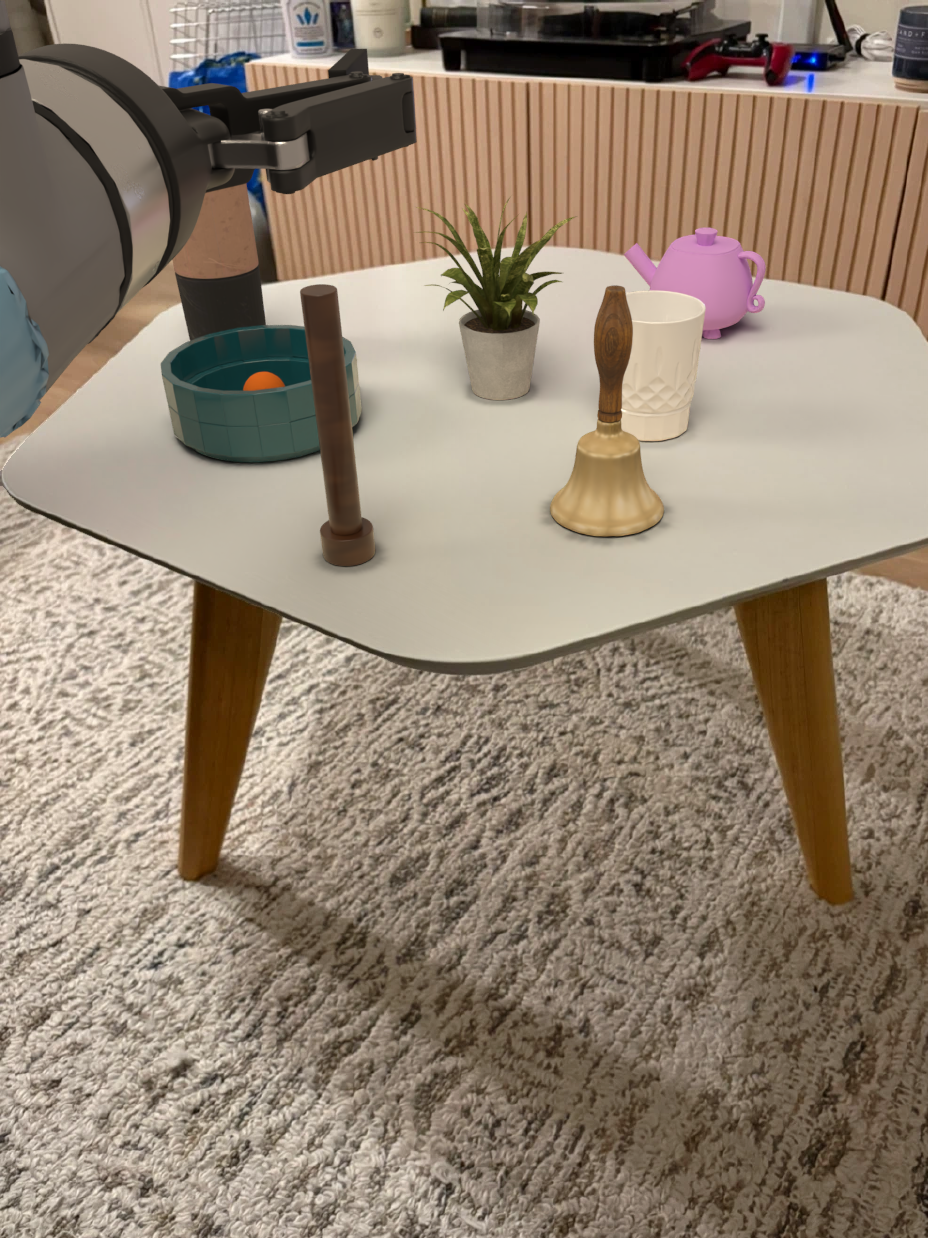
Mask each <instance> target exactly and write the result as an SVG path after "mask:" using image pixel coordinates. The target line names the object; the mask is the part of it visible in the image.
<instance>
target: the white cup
mask: <svg viewBox="0 0 928 1238" xmlns="http://www.w3.org/2000/svg"><path fill="white" fill-rule="evenodd" d="M626 299H627V303H628V306H629V310H630V314H631V318H632V325H633V339H632V349H631V355H630V359H629V363H628V366H627V369H626V371H625V374H624V378H623V383H622V409H621V410H622V418H621V428H622V430H623V431H625V432H628V433H630V434H632V435H634V436H635V437H636V438H637V439H638V441H639V442H658V441H659V442H661V441H666V440H671V439H674V438H677V437H679V436H681V435H682V434H684V433H685V432H687V430H688V425H689V419H690V412H691V404H692V399H693V397H694V394H695V386H696V382H697V375H698V369H699V361H700V352H701V346H702V339H703V336H702V332H703V324H704V317H705V310H706V307H705V305H704V303H703V302H702V301H700V300H699V299H697V298H695V297H692V296H689V295H686V294H682V293H677V292H670V291H656V290H650V289H649V290H637V291H636V290H635V291H629V292H626Z"/></svg>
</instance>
